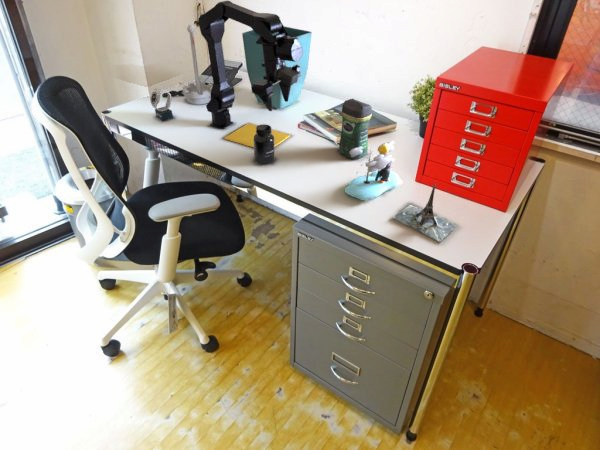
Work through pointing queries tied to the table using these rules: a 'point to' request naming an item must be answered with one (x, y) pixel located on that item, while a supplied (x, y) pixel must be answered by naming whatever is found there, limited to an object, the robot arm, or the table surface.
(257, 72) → the flower pot
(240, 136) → the cloth
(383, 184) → the cartoon character figurine
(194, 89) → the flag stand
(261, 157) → the supplement bottle
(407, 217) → the eiffel tower figurine
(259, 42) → the robot arm
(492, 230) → the table surface
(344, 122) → the coffee jar
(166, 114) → the watch
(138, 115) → the table surface
